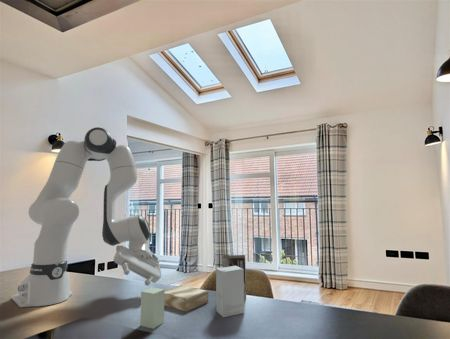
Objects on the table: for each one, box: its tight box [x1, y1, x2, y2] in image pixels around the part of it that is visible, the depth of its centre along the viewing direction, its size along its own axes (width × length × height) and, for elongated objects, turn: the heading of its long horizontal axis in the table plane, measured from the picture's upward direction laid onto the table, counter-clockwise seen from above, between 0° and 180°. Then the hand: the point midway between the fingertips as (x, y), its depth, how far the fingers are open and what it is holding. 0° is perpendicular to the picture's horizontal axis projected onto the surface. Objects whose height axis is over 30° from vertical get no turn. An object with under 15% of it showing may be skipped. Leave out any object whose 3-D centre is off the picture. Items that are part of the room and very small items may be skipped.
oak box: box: [164, 284, 209, 312], centre depth 110 cm, size 14×12×4 cm
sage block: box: [139, 286, 166, 330], centre depth 91 cm, size 5×5×10 cm
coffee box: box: [221, 254, 247, 302], centre depth 116 cm, size 9×6×16 cm
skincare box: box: [215, 266, 245, 318], centre depth 100 cm, size 8×6×15 cm
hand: (137, 278), depth 110 cm, fingers open, 8 cm apart
